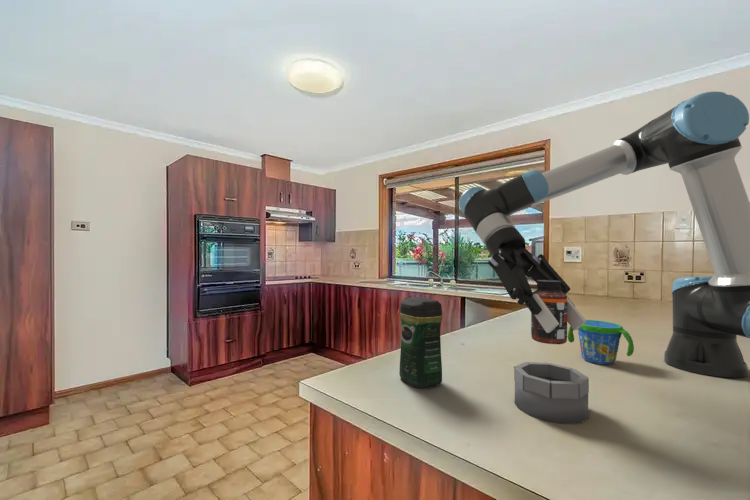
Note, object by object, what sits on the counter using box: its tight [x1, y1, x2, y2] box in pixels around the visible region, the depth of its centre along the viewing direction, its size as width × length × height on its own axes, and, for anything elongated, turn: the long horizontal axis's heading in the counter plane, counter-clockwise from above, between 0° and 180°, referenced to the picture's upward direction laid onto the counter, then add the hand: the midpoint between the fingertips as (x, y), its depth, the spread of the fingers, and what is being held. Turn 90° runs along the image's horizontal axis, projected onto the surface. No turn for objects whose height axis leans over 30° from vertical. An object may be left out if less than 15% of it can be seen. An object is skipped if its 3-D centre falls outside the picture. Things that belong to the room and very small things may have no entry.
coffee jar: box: [398, 296, 444, 389], centre depth 74 cm, size 10×8×19 cm
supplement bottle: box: [530, 280, 568, 345], centre depth 62 cm, size 6×6×11 cm
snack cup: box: [567, 319, 635, 366], centre depth 90 cm, size 16×10×10 cm
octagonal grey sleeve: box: [513, 361, 590, 425], centre depth 62 cm, size 12×12×6 cm
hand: (566, 326), depth 59 cm, fingers closed on supplement bottle, 6 cm apart
